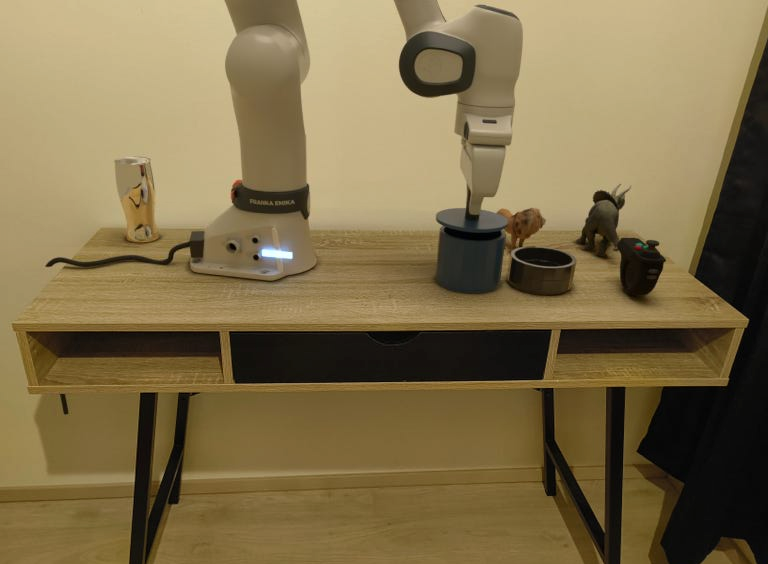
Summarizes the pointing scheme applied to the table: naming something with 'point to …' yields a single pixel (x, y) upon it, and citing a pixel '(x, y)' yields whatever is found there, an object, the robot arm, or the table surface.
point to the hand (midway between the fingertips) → (472, 210)
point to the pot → (469, 260)
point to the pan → (541, 270)
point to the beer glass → (137, 197)
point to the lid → (471, 219)
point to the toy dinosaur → (603, 221)
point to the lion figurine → (522, 224)
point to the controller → (639, 265)
